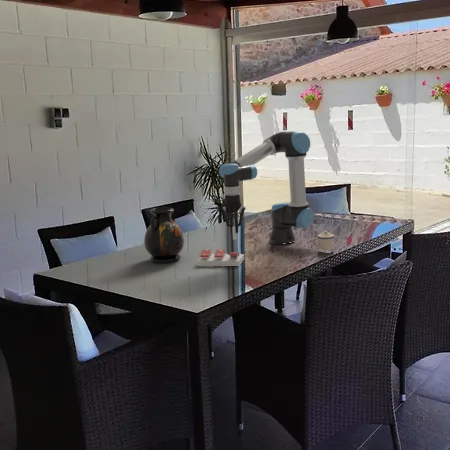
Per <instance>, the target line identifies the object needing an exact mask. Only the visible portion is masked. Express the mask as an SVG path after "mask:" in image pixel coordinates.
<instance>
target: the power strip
mask: <svg viewBox="0 0 450 450" xmlns="http://www.w3.org/2000/svg"><path fill="white" fill-rule="evenodd" d="M214 255H215V253H211V254H210V257H209V258H202V257H200V256H199V258H197V260H196V264H197V265H196V266H197V267H213V266H223V267H224V266H239V265H240V264H241V263H243V262H244V261H245V253H243V254H242V253H239V255H238V258H230V255H228V253H225V254H224V257H223V258H214ZM243 260H244V261H243ZM242 261H243V262H242ZM241 265H242V264H241ZM241 265H240V266H241ZM240 266H239V267H240ZM223 267H222V268H223Z"/></svg>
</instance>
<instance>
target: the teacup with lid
mask: <svg viewBox="0 0 450 450" xmlns="http://www.w3.org/2000/svg"><path fill="white" fill-rule="evenodd" d="M316 240H317V243H316ZM312 243H313V245H314V247H317V250H318V249H321V250H331V249H334V250H335V235H334V233H333V234H332V233H330V232H329V231H328V230H324V231H323V232H321V233H319V234H318V235H317V237H315V238H313V240H312Z"/></svg>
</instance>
